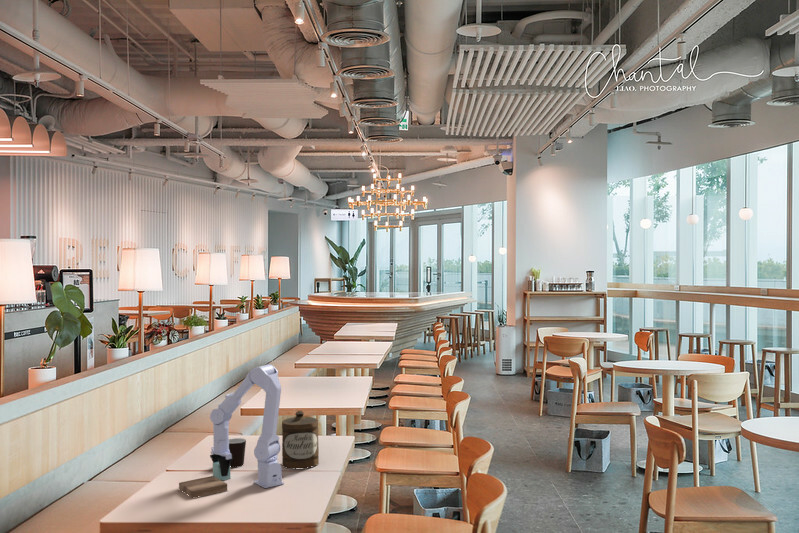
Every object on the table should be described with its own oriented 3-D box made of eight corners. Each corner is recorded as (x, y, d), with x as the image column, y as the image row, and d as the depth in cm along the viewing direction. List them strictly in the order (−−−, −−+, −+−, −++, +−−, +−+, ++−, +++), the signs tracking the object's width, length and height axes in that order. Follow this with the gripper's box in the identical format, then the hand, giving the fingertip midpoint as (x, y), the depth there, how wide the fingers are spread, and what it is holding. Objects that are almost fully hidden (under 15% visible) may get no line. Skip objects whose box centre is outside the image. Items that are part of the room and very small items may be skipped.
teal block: (230, 478, 260) (230, 463, 260) (218, 481, 257) (217, 465, 257) (225, 475, 264) (224, 460, 264) (212, 478, 261) (212, 462, 261)
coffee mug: (243, 467, 275) (243, 443, 275) (222, 468, 275) (222, 443, 275) (250, 460, 286) (250, 436, 286) (230, 460, 286) (229, 436, 286)
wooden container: (284, 471, 269) (283, 415, 270) (280, 461, 284) (280, 408, 284) (321, 467, 273) (320, 413, 274) (315, 458, 288) (315, 406, 288)
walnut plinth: (227, 490, 246) (227, 483, 246) (192, 498, 238) (192, 491, 238) (213, 482, 256) (213, 475, 256) (179, 489, 248) (179, 482, 248)
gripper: (203, 437, 264) (204, 472, 264) (218, 444, 253) (219, 480, 252) (221, 434, 268) (221, 468, 268) (236, 441, 257) (237, 477, 257)
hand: (221, 474), depth 261 cm, fingers closed on teal block, 5 cm apart
